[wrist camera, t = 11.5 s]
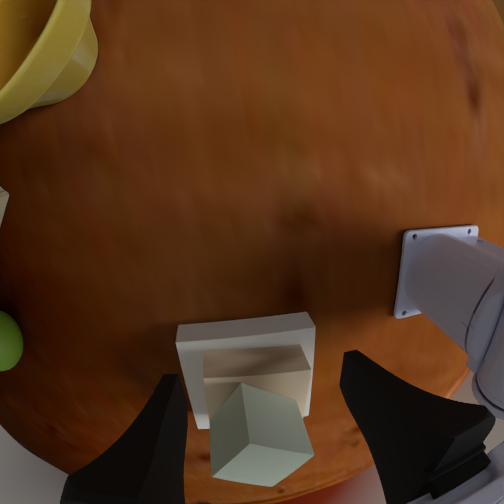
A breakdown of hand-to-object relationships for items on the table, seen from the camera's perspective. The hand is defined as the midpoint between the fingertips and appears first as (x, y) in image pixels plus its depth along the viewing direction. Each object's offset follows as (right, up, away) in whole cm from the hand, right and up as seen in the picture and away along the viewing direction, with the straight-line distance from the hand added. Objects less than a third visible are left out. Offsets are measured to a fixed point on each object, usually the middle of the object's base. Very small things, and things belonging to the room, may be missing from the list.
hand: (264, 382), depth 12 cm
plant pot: (-14, +19, +3) cm, 24 cm away
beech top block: (-1, -5, +10) cm, 11 cm away
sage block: (-1, -6, +7) cm, 9 cm away
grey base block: (-1, -4, +13) cm, 14 cm away
